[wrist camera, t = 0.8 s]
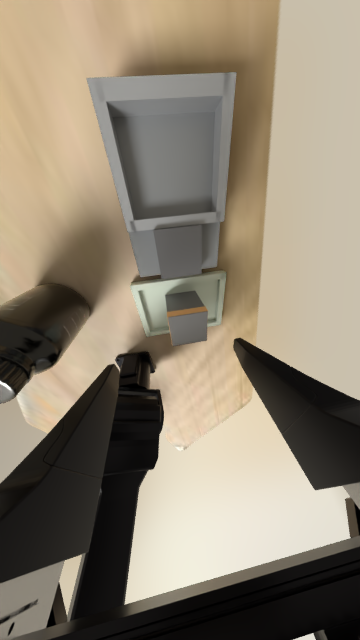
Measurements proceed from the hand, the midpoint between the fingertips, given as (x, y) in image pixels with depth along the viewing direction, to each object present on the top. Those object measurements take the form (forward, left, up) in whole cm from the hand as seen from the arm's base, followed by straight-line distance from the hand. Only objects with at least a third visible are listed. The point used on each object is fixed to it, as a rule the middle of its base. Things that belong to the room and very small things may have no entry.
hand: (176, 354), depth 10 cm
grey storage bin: (+9, -2, -12) cm, 15 cm away
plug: (-3, -2, -12) cm, 12 cm away
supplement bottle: (0, +15, -12) cm, 19 cm away
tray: (-3, -2, -12) cm, 12 cm away
